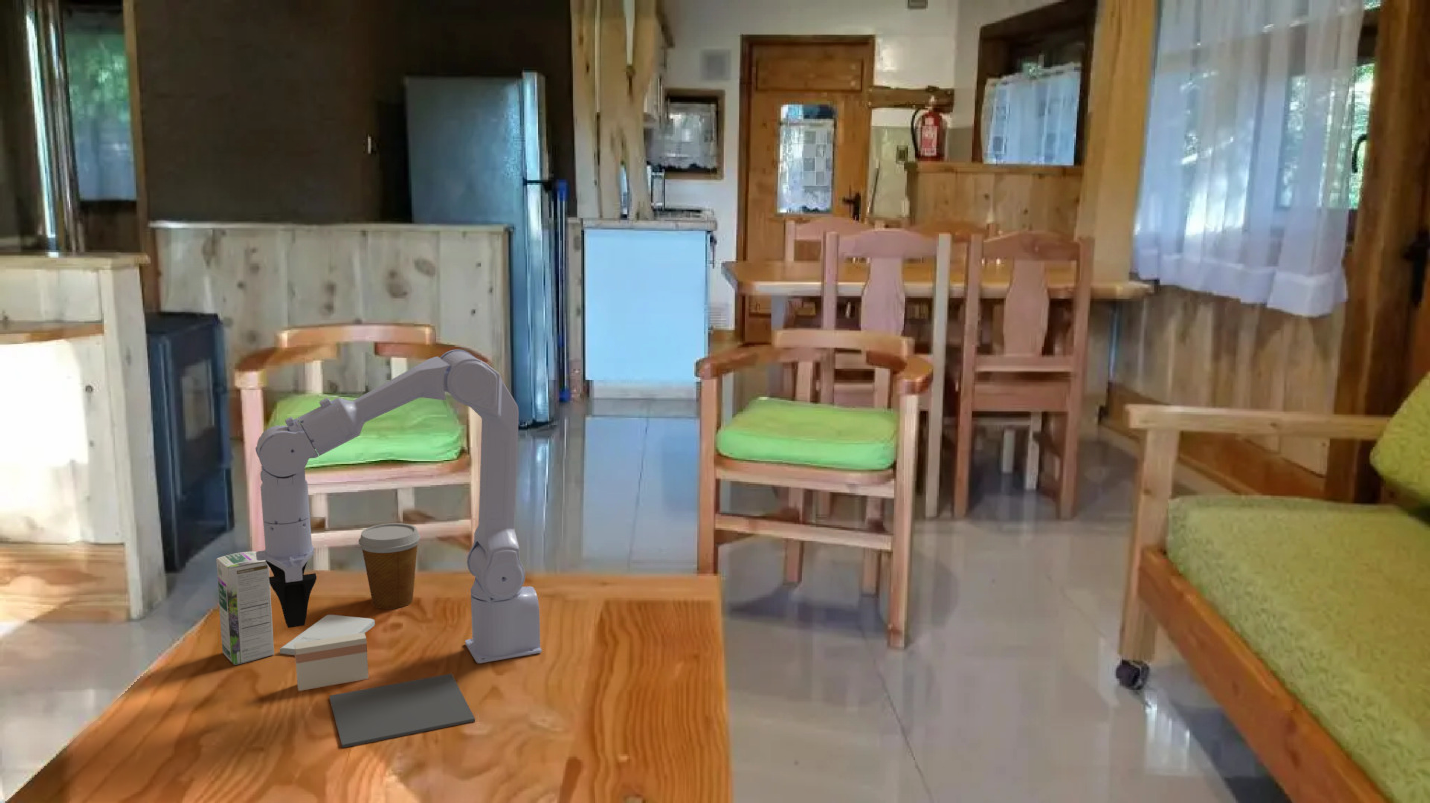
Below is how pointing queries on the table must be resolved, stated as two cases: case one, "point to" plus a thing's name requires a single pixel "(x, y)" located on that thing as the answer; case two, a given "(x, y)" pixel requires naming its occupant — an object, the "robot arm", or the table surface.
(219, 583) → the syrup box
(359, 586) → the table surface
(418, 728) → the mat
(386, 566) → the disposable coffee cup
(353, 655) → the card deck
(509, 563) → the robot arm
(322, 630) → the external hard drive
